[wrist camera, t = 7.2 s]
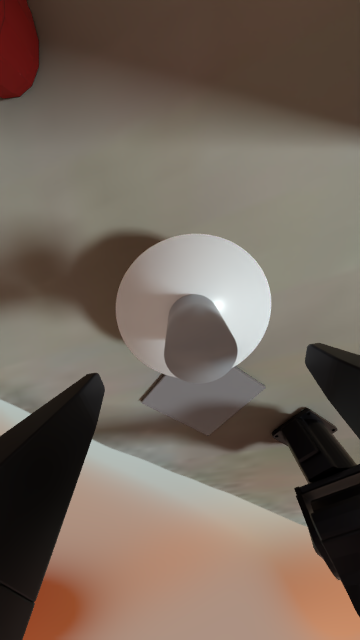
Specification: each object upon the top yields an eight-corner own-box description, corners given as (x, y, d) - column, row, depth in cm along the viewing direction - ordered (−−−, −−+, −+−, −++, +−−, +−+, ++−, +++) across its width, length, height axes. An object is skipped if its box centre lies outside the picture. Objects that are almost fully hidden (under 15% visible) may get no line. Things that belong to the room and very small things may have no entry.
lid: (297, 299, 13) (365, 333, 8) (202, 391, 17) (212, 452, 12) (176, 192, 11) (175, 153, 6) (93, 328, 14) (49, 374, 9)
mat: (264, 385, 23) (265, 387, 22) (207, 433, 26) (208, 435, 26) (194, 340, 20) (195, 342, 19) (141, 400, 23) (141, 402, 23)
